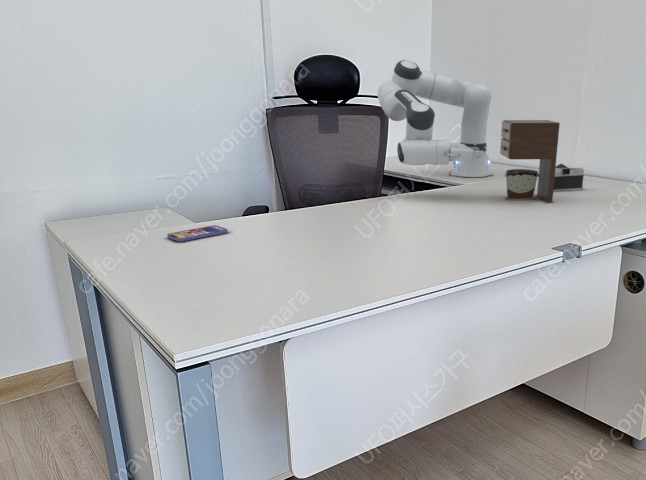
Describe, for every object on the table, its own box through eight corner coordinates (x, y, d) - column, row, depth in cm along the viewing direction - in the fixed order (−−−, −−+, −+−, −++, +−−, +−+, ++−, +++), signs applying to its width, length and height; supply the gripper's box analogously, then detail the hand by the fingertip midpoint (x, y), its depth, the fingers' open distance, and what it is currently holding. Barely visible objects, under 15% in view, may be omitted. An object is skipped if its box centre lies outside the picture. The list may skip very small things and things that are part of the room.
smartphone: (229, 232, 167) (179, 242, 157) (215, 227, 172) (166, 237, 162) (229, 229, 167) (178, 239, 156) (215, 224, 171) (165, 233, 161)
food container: (532, 196, 220) (534, 168, 216) (537, 199, 214) (539, 171, 211) (499, 196, 219) (501, 169, 215) (503, 199, 213) (505, 171, 210)
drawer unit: (495, 195, 221) (499, 120, 211) (541, 195, 221) (547, 120, 212) (503, 203, 207) (508, 122, 198) (552, 202, 208) (559, 122, 199)
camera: (573, 186, 240) (575, 160, 237) (585, 189, 233) (588, 163, 229) (538, 188, 236) (540, 162, 232) (550, 191, 228) (552, 165, 225)
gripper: (447, 146, 201) (487, 145, 201) (439, 140, 220) (476, 140, 221) (446, 165, 203) (486, 164, 204) (439, 157, 222) (476, 157, 223)
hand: (481, 151), depth 212 cm, fingers open, 8 cm apart
